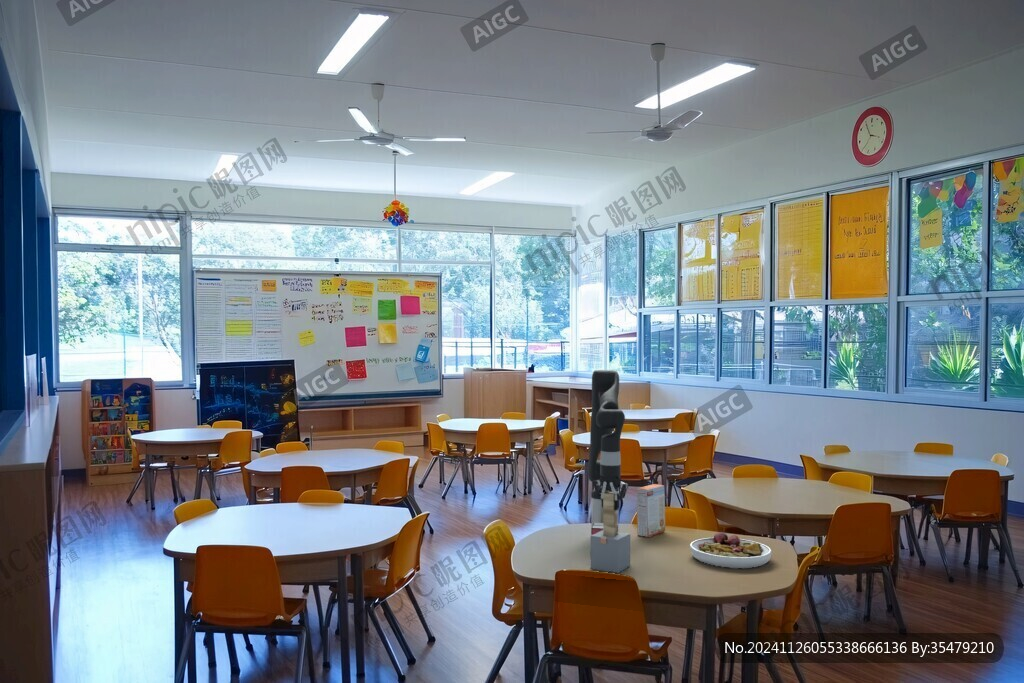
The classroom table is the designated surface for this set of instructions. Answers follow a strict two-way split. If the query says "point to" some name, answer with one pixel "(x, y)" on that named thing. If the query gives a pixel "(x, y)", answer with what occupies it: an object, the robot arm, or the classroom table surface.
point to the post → (609, 515)
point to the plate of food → (730, 551)
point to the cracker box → (650, 510)
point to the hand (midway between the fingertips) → (610, 509)
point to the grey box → (610, 552)
